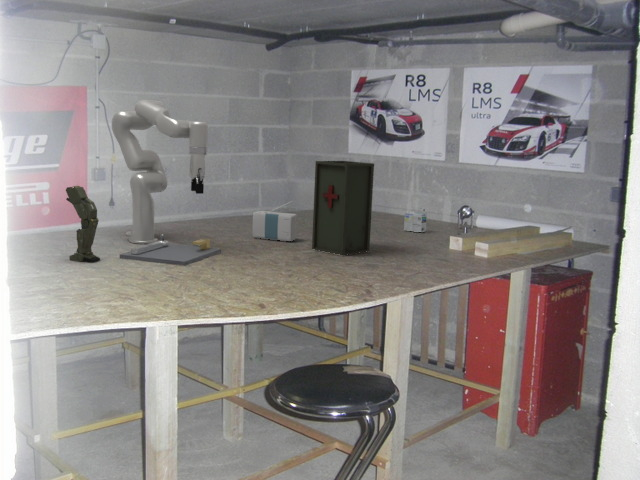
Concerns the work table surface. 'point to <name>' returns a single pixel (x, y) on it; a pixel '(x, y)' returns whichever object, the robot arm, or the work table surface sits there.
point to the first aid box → (342, 206)
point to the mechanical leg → (84, 224)
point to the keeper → (203, 243)
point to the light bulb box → (415, 221)
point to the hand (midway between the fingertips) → (197, 192)
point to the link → (150, 246)
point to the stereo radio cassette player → (274, 225)
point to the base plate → (173, 254)
